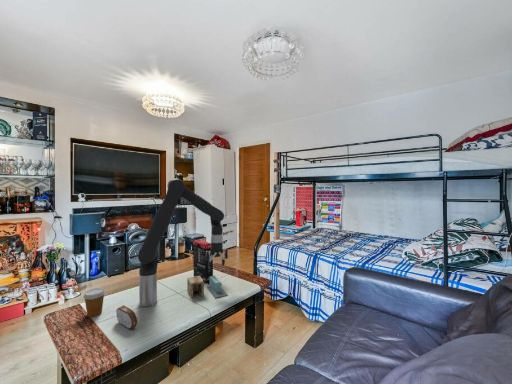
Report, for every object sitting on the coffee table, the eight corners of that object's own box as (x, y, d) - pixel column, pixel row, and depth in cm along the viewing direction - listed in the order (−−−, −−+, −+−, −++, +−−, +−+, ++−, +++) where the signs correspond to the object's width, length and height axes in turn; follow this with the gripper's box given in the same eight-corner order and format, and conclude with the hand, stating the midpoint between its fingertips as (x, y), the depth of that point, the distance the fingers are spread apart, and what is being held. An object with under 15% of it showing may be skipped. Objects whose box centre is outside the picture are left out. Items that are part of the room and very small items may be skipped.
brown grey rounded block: (138, 329, 113) (137, 311, 113) (131, 332, 110) (131, 314, 110) (121, 319, 121) (121, 303, 121) (115, 322, 119) (115, 305, 118)
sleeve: (190, 298, 144) (190, 283, 144) (187, 292, 153) (187, 277, 153) (203, 295, 148) (203, 280, 147) (199, 289, 156) (199, 275, 156)
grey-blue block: (215, 292, 150) (215, 283, 150) (209, 285, 162) (209, 276, 162) (220, 291, 152) (220, 282, 152) (214, 284, 164) (214, 275, 163)
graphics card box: (213, 280, 172) (213, 242, 172) (205, 283, 167) (205, 244, 167) (200, 274, 184) (200, 239, 184) (192, 277, 179) (192, 240, 179)
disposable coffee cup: (100, 318, 123) (99, 294, 122) (79, 319, 121) (79, 296, 121) (108, 308, 132) (108, 287, 132) (89, 310, 130) (89, 288, 130)
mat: (215, 298, 144) (215, 297, 144) (206, 287, 160) (206, 286, 160) (227, 295, 147) (227, 294, 147) (218, 285, 163) (218, 284, 163)
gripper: (207, 243, 147) (207, 269, 147) (229, 241, 153) (229, 266, 154) (204, 240, 153) (204, 266, 153) (225, 239, 160) (224, 263, 160)
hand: (216, 266), depth 153 cm, fingers open, 8 cm apart
